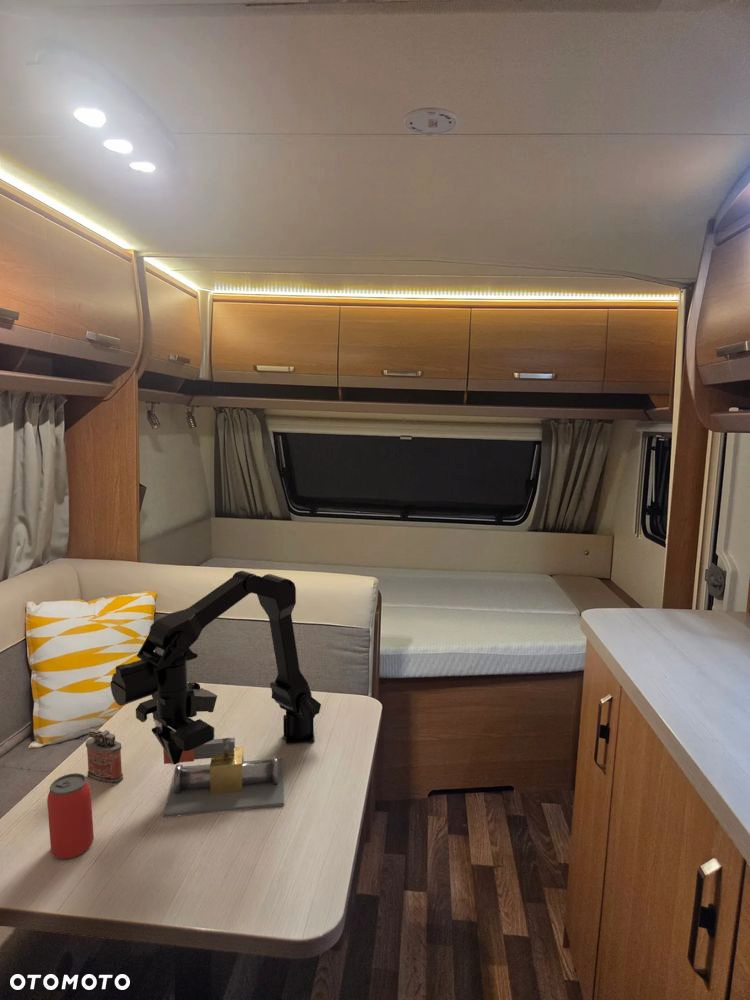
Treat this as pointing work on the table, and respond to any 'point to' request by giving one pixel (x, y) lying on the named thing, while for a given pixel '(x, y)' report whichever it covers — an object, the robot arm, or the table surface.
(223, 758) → the valve body
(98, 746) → the lighter
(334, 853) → the table surface
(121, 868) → the table surface
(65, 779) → the beer can
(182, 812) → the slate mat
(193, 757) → the lever
